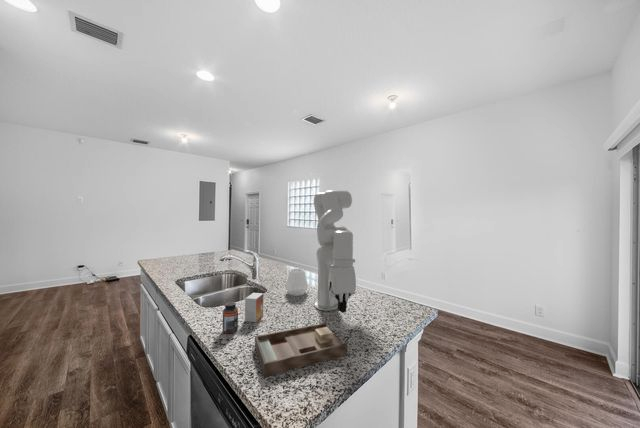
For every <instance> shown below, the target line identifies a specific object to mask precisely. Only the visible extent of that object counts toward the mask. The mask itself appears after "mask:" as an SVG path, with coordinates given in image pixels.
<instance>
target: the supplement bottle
mask: <svg viewBox="0 0 640 428" xmlns="http://www.w3.org/2000/svg"><path fill="white" fill-rule="evenodd" d="M224 304H225V305H224V306H225V307H224V308H223V310H222V332H223V333H224V334H233V333H235V332H237V331H238V330H239V309H238V307H237V305H236V302H235V301H228V302H226V303H224Z"/></svg>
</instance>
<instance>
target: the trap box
mask: <svg viewBox="0 0 640 428" xmlns="http://www.w3.org/2000/svg"><path fill="white" fill-rule="evenodd" d="M327 325H328V324H327V322H323V323H316V324H311V325H306V326H302V327H297V328H290V329H285V330H282V331H274V332H271V333H264V334H261V335H260V334H259V335H256V336H254V348H255V353H256V355H257V359H258V361H259V364H260V367H261V371H262V374H263V377H264V378H267V377H270V376H273V375H278V374H281V372H282V373H286V372H289V371H292V370H291V369H293V370H296V369H295V368H297V369H300V368H299V367H301V368H305V367H308V366H312V365H315V363H316V364H320V363H323V361H324V362H327V361H331V360H334V359H339V358H343V357H346V356H348V343H347V342H345V343H342V342H341V340H340V339H339V338H338V337H337V336H336V335H335V334H334V333H333V341H330V342H326V343H321V344H320V343H319V342H318V340H317V339H316V338H315V329H318V328H323V327H328V326H327ZM319 362H320V363H319ZM304 366H305V367H304ZM288 370H289V371H288ZM269 375H270V376H269Z"/></svg>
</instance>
